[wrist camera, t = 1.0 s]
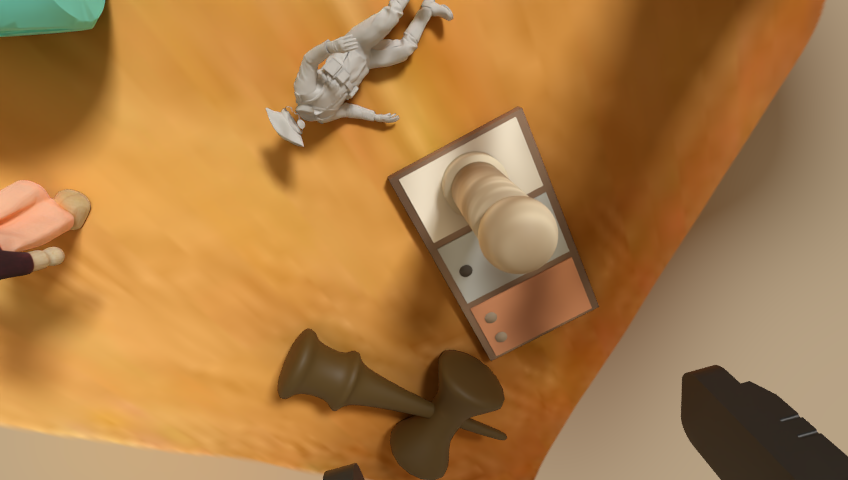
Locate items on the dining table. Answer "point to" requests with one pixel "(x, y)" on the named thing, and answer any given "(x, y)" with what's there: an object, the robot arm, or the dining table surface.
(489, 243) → the pawn
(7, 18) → the decorative dice
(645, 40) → the dining table surface
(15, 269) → the grandmother figurine
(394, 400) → the kendama
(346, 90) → the soldier figure
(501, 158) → the board
